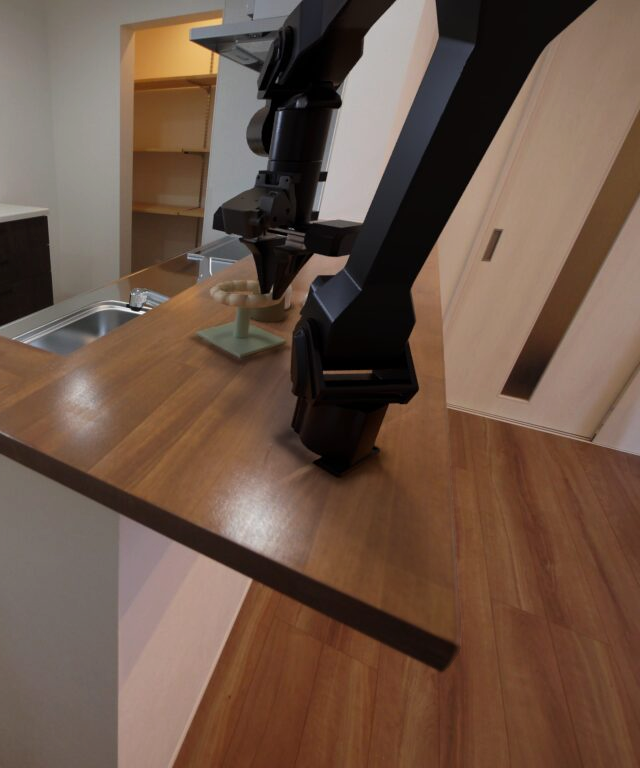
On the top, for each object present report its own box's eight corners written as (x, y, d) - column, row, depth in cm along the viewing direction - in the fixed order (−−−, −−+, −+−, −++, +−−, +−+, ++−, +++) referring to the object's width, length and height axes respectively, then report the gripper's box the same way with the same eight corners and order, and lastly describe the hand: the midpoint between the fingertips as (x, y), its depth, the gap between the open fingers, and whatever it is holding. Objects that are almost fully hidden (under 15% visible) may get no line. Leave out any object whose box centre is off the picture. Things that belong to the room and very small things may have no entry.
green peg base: (285, 347, 60) (293, 306, 57) (239, 362, 56) (245, 318, 53) (239, 326, 67) (245, 288, 64) (195, 339, 63) (198, 298, 60)
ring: (298, 300, 57) (300, 288, 56) (247, 313, 52) (248, 301, 52) (245, 286, 64) (246, 276, 63) (196, 297, 60) (196, 285, 59)
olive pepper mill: (286, 323, 69) (300, 253, 63) (247, 320, 70) (258, 251, 64) (282, 310, 74) (295, 244, 68) (246, 307, 75) (256, 242, 69)
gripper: (184, 158, 50) (175, 288, 58) (321, 167, 36) (286, 335, 44) (251, 157, 55) (235, 276, 63) (394, 164, 42) (351, 315, 49)
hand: (270, 297), depth 55 cm, fingers closed on ring, 1 cm apart
